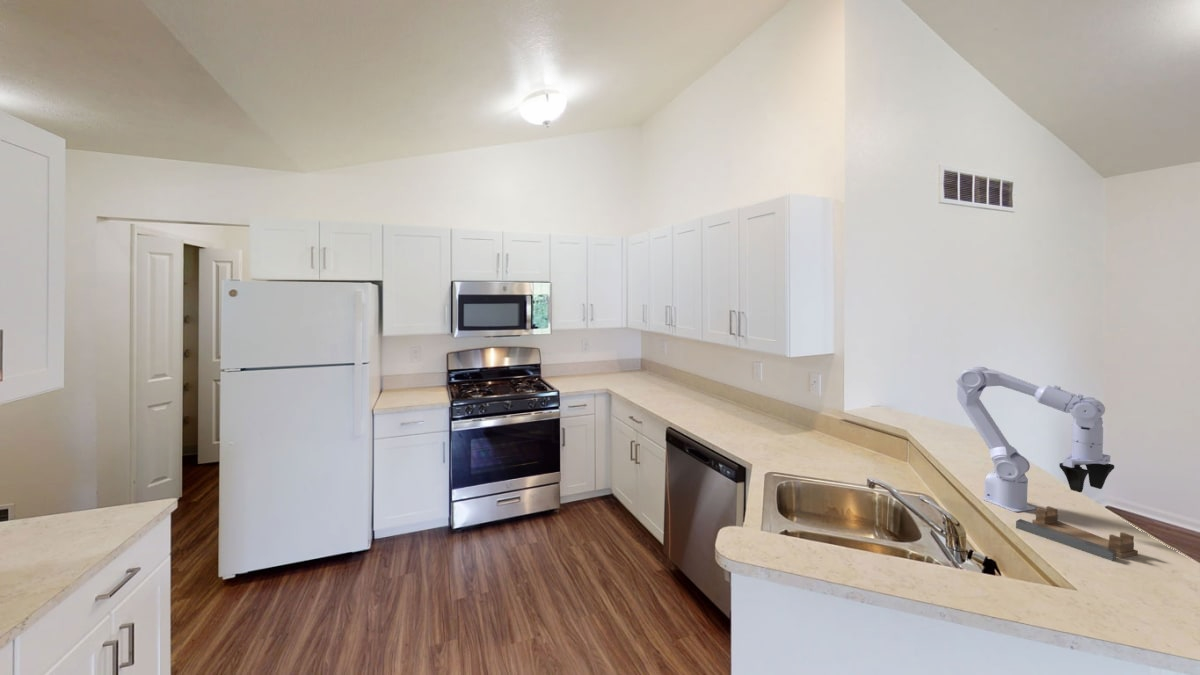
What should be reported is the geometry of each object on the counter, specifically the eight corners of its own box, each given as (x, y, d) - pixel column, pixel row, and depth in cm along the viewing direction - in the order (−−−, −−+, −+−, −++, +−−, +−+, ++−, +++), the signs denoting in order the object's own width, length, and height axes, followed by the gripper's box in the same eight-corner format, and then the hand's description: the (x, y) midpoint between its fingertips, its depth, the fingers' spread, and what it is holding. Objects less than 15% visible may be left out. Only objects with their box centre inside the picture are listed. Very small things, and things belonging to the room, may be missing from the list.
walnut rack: (1032, 523, 122) (1032, 507, 122) (1047, 520, 124) (1048, 505, 123) (1120, 558, 105) (1121, 540, 104) (1137, 554, 106) (1138, 536, 106)
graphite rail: (1015, 529, 120) (1016, 520, 120) (1020, 527, 121) (1020, 518, 121) (1112, 562, 104) (1112, 553, 104) (1116, 559, 105) (1116, 550, 105)
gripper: (1086, 448, 114) (1085, 498, 115) (1126, 443, 117) (1124, 491, 118) (1053, 441, 121) (1053, 488, 121) (1091, 436, 124) (1090, 482, 124)
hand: (1086, 489), depth 120 cm, fingers open, 7 cm apart
